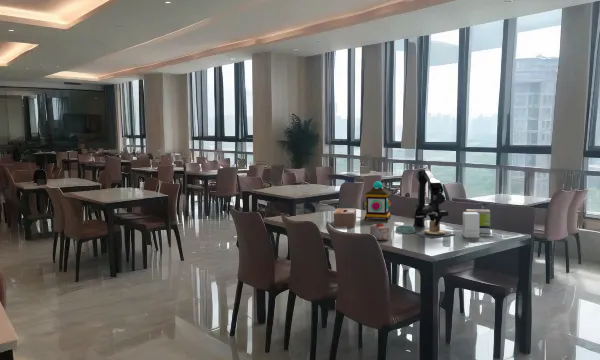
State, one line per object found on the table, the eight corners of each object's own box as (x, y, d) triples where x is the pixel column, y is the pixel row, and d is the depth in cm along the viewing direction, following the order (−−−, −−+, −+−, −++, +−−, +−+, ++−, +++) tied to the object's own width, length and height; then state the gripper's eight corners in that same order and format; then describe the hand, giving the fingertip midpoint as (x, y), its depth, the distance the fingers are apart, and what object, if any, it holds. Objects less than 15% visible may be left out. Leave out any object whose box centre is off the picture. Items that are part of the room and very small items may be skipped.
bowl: (406, 229, 331) (406, 225, 331) (418, 232, 320) (418, 227, 320) (392, 231, 325) (392, 226, 325) (404, 234, 315) (404, 229, 314)
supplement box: (476, 235, 309) (477, 211, 307) (479, 237, 300) (480, 214, 299) (462, 234, 310) (462, 211, 309) (464, 237, 301) (464, 213, 300)
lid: (435, 229, 320) (435, 218, 319) (449, 232, 308) (449, 221, 307) (419, 231, 314) (419, 220, 313) (434, 235, 302) (434, 223, 301)
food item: (390, 240, 296) (391, 224, 295) (379, 241, 293) (379, 225, 292) (378, 236, 309) (378, 221, 308) (368, 237, 306) (368, 222, 305)
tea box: (489, 231, 320) (490, 209, 319) (490, 234, 310) (490, 211, 309) (465, 230, 325) (466, 208, 324) (465, 233, 315) (466, 210, 314)
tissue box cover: (353, 227, 341) (353, 213, 340) (333, 227, 344) (333, 213, 343) (356, 221, 367) (356, 208, 366) (337, 221, 369) (337, 208, 368)
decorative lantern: (367, 217, 384) (367, 179, 381) (392, 218, 378) (392, 180, 375) (362, 221, 365) (362, 182, 362) (389, 222, 359) (389, 182, 356)
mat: (437, 231, 323) (437, 230, 323) (455, 235, 308) (455, 234, 308) (414, 234, 313) (414, 233, 313) (431, 238, 299) (431, 237, 299)
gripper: (415, 200, 314) (415, 224, 315) (435, 203, 297) (435, 228, 299) (428, 199, 319) (428, 222, 320) (449, 202, 302) (448, 227, 304)
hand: (434, 225), depth 310 cm, fingers closed on lid, 3 cm apart
